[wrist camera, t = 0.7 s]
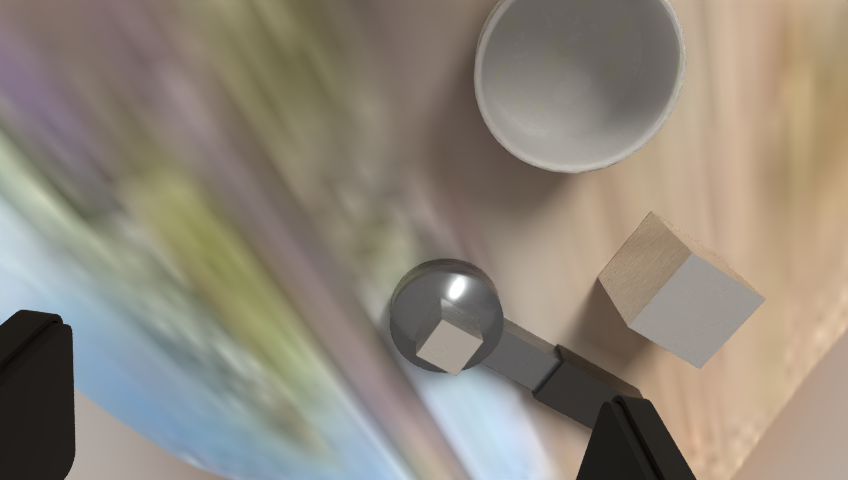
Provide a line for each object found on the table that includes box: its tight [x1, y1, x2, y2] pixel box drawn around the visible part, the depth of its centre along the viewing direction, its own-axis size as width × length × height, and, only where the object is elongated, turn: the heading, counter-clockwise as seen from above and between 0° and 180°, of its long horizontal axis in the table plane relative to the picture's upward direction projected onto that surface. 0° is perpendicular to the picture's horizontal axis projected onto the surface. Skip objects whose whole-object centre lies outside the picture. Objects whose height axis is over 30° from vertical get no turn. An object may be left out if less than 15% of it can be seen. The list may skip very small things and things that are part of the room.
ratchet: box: [390, 259, 643, 429], centre depth 45 cm, size 21×8×6 cm, turn 58°
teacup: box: [474, 0, 686, 173], centre depth 35 cm, size 14×11×8 cm
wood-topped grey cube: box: [598, 211, 766, 369], centre depth 42 cm, size 6×6×7 cm
